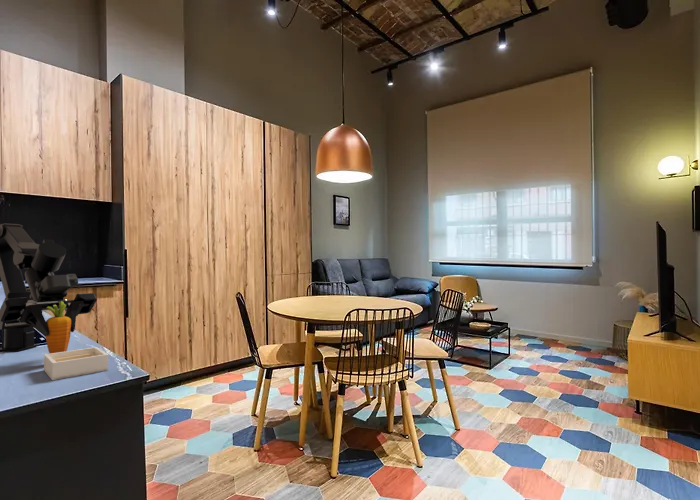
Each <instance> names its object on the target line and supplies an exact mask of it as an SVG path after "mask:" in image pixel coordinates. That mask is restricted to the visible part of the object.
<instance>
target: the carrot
mask: <svg viewBox="0 0 700 500" xmlns="http://www.w3.org/2000/svg"><path fill="white" fill-rule="evenodd" d="M53 307H54V309H53V308H52V307H49V306H48V307H47V308H46V309H49V310H50V311H51V313H52V314H53V316H52V317H48V318H47V319H46V320H45V321H46V323H47V326H48V329H49V335H48V336H46V335H45V339H46V340H45V341H46V346H47V349H48V354H51V353H58V352H65V351H68V348H69V344H70V339H71V333H72V332H71V319H70V318H69V317H66V316H64V311H65V307H66V305H65V304H64V302H63V301H60V302H59V310H58V308H57V305H53Z"/></svg>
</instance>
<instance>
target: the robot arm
mask: <svg viewBox="0 0 700 500" xmlns="http://www.w3.org/2000/svg"><path fill="white" fill-rule="evenodd" d="M66 254H67V248H66V247H64V246H63V245H61V244H59V243H56V242H54V239H43V241H42V243H36V242H35V241H34V240H33V239H32V237H31V236H30V235H29V234H28V233H27V232H26V230H25V226H24V225H22V224H19V223H18V224H17V223H0V281H1V284H2V287H3V288H2V289H3V293H4V296H5V298H4V300H3V301H2V304H1V306H0V330H2V331H1V347H0V351H1V352H19V351H23V350H28V349H32V348H36V347H38V346H39V344H38V343H37V344H36V343H35V330H37V331H39V332H40V333H41V334H43V335H45V337H46V336H48V335H49V329H48V326H47V323H46V321H47V320H45V319H46V318H45V317H44V315H43V312H47V311H48V312H49V311H50V310H49V309H46V308H47V307H48V306H49V307H52V308H53V309H54V307H53V305H57V308H58V310H59V302H60V301H63V302H64V304H65V305H66V307H65V309H64V311H65V314H63V316H66V317H69V318H70V319H71V333H74V332H75V330H76V321H77V320H76V319H77V317H78V316H79V315H83V314H89V313H91V311H92V309H93V308H94V306H95V304H96V303H97V301H98V298H97V296H96V294H95V293H93V292H87V293H86V292H85V293H83V292H82V293H77V294H76V295H75V297H74V299H70V300H69V299H64V298H65V297H66V298H67V296H68V290H70V289H71V288H76V287H77V286H78V284H79V279H78V277H77V275H76V273H67V274H55V272H57V271H59V269H60V267H61V265H62V263H63V261H64V259H65V256H66ZM22 270H25V272H24V277H25V278H24V277H23V273H22ZM26 284H27V285H28V288H29V290H27V287H26ZM34 329H35V330H34Z"/></svg>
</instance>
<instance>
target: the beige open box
mask: <svg viewBox="0 0 700 500" xmlns="http://www.w3.org/2000/svg"><path fill="white" fill-rule="evenodd" d="M109 356H110V355H109V354H108V353H107V352H106V351H104V350H103V349H101V348H99V347H97V346H93V347H87V348H81V349H80V348H79V349H74V350H73V349H72V350H67V351H65V352H58V353H51V354H50V353H45V354H43V371H44V372H45V373H46V375H47V376H48V377H49V378H50V379H51V380H52V381H57V380H62V379H68V378H73V377H78V376H79V377H80V376H84V375H88V374H94V373H100V372H105V371H109Z"/></svg>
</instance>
